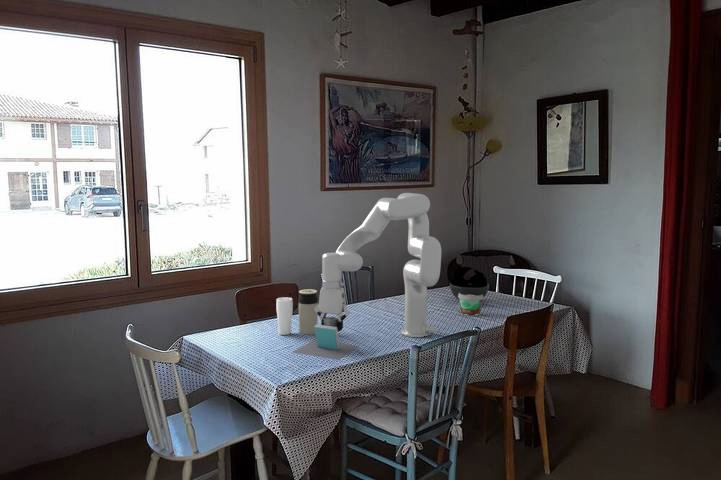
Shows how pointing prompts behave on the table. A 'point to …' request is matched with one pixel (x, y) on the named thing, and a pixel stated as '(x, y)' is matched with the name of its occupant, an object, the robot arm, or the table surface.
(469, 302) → the food container
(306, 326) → the travel mug
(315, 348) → the mat
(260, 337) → the table surface
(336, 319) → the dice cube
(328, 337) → the tile
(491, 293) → the table surface
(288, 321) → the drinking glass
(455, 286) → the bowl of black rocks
